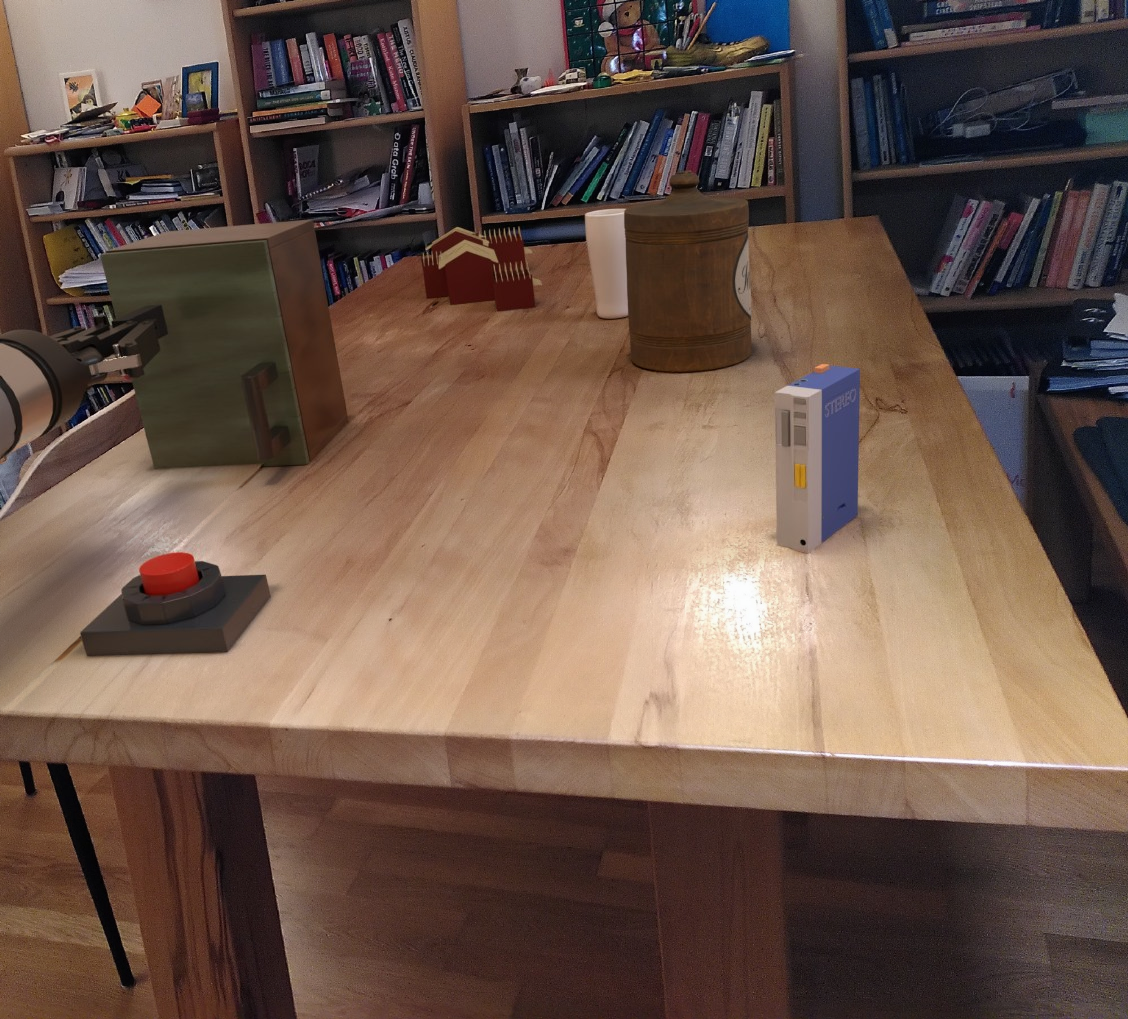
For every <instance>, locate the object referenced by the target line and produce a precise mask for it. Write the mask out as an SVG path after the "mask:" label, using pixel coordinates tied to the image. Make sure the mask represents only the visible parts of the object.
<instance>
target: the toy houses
mask: <svg viewBox="0 0 1128 1019" xmlns="http://www.w3.org/2000/svg"><path fill="white" fill-rule="evenodd" d="M512 232H513V233H511V230H510V228H508V233H506V228H503V231H502V230H500V228H498V230H497V233H498V234H497V235H496V230H495V228H494V229H493V235H492V234H491V229H489V231H488V234H489V236H487V235H486V230H484V232H483V234H484V235H482V234H481V233H478V232H475V231H471V230H468V229H465V228H462V227H459V226H456V227H454V228H452V229H451V230H449V231H448V232H447V233H445V234H443V235H442V236H439V237H438V238H437V239H435V240H433V241H432V242H431V244H429V245H427V247H425V251H428V250H429V249H431V254H430V253H429V252H424V253H422V255H420V259H421V261H420V262H421V267H422V268H421V269H422V274H423V282H424V287H425V288H424V289H425V296H426V300H427V299H428V300H429V299H436V298H444V297H448V299H449V300H448V301H449V305H450V306H454V305H460V304H461V305H462V304H472V303H479V302H489V301H494V304H495V307H496V311H497V312H503V311H504V312H505V311H514V310H522V309H530V308H536V300H535V299H536V298H535V290H534V286H543V285H544V284H543V283H542V281H541V280H540V279H539V278H535V277H533V274H531V270H530V265H529V261H528V260H526V254H533V250H532V249H530V248H527V247H525V244H524V237H523V236H522V231H521V227H518V230H517V233H516V229H515V228H513V231H512ZM501 233H502V234H501ZM425 254H426V255H427V258H425Z"/></svg>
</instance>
